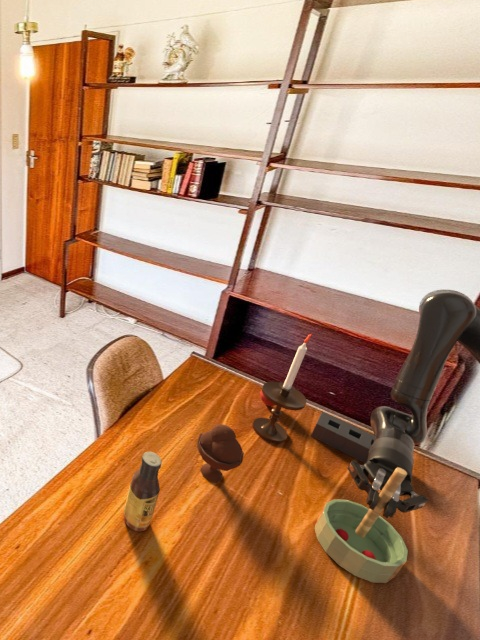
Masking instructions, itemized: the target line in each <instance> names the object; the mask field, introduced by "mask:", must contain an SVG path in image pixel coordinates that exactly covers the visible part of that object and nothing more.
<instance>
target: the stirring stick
mask: <svg viewBox="0 0 480 640" xmlns="http://www.w3.org/2000/svg"><path fill="white" fill-rule="evenodd" d="M406 475H407V472H406V471H405V470H404V469H402V468H396V469H395V471H394V472H393V474H392V475H391V477H390V478H389V480H388V481H387V483H386V485H385V486H384V488H383V489H382V491H381V490H380V492H379V493H380V494H379V498H378V503H377V505H376V507H375V508H374V510H372V509H370V508H369V511H368V512H367V514H366V515H365V517H364V518H363V520H362V521H361V523H360V524H359V526H358V527H357V529H356V531H355V532H356V534H357V535H358V536H360V537H363V538H364V537H365V536H366V534H367V533H368V531H369V530H370V528H371V527H372V526H373V524H374V523H375V521H376V520H377V518H378V517H379V515H380V516H381V514H382V513H383V512H384V508H385V506H386V505H387V503H388V502H389V500H390V499H391V497H392V496H393V495H394V493H395V492H396V490H397V489H398V487H399V486H400V484H401V483H402V481H403V480H404V478H405V477H406Z"/></svg>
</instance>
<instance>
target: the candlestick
mask: <svg viewBox="0 0 480 640" xmlns="http://www.w3.org/2000/svg"><path fill="white" fill-rule="evenodd" d="M312 335H313V333H310V334H308V335H307V337H306V338H305V339H304V340H303V341H304V342H303V344H301V345H298V348H297V350H296V353H295V356H294V358H293V360H292V363H291V365H290V368H289V371H288V372H287V375H286V378H285V380H284V381H273V380H271V381H266V382H265V383H263V385H262V386H261V387H262V388H261V390H262V393H263V395H264V396H265V397H266V398H267V399H268V400H269V401H270V402H272V403H273V404H275V407H272V408H271V414H270V415H269V417H268V418H266V417H257V418H255V419H254V420H253V421H252V424H251V427H252V430H253V431H254V432H255V434H256V435H258V437H260V438H262V439H264V440H265V441H267V442H270V443H275V444H282V443H284V442H286V440H287V438H288V432H287V430H286V429H285V427H283V426H282V425H281V424H280V423H279V421H280V417H281V416H283V412H282V409H285V410H288V411H301V410H303V409H304V408H305V407H306V406H307V398H306V396H305V395H304V394H303V393H302V392H301V390H298V389H297V388H295V386H294V385H293V384H294V382H295V379H296V377H297V374H298V373H299V369H300V367H301V365H302V362H303V360H304V358H305V355H306V353H307V351H308V348H307V343H308V342H309V341H310V339H311V336H312Z"/></svg>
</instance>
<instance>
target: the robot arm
mask: <svg viewBox="0 0 480 640" xmlns="http://www.w3.org/2000/svg"><path fill="white" fill-rule="evenodd" d="M418 314H419V320H418V327H417V332H416V336H415V338H414V341H413V345H412V347H411V348H410V351H409V353H408V355H407V356H406V358H405V360H404V362H402V364H401V367H400V369H399V371H398V373H397V375H396V378H395V381H394V383H393V385H392V388H391V390H390V398H391V399H392V400H393V401H394V402H396V403H397V404H399V405H401V406H403V407H404V408H406V409H408V410H409V411H410V412H411V414H409V413H406V412H403V411H400V410H398V409H396V408H392V407H390V406H386V405H381V406H377V407H375V408H374V409H373V410H372V412H371V414H370V421H369V422H370V427H371V430H372V432H373V435H375V439H374V443H373V444H372V446H371V448H370V450H369V453H368V454H369V455H368V459H367V463H364V464H360V463H359V461H358V460H354V459H352V460H351V462H350V463H349V465H348V467H347V470H348V472H349V474H350V475H351V477H352V480H353V481H354V483H355V485H356V486H357V488H358V489H359V490H360V491H364V492H365V493H366V494H367V495H366V500H365V503H366V505H367V506H368V508H369V509H372V510H374V508H375V507H376V505H377V503H378V498H379V494H380V492H381V491H382V489H383V488H384V486H385V485H386V483H387V481H388V480H389V478H390V477H391V475H392V474H393V472H394V471H395V469H396V468H402V469H404V470H405V471H406V472H407V475H406V477H405V478H404V480H403V481H402V483H401V484H400V486H399V487H398V489H397V490H396V492H395V493H394V495H393V496H392V497H391V499H390V500H389V502H388V503H387V505H386V506H385V508H384V509H383V511H382V517H384V518H385V519H388V518H393V517H394V516H395V515H396V513H397V510H398V511H399V512H400V513H402V514H405V513H406V514H407V513H408V512H413V511H417V510H420V509H423V507H424V506H425V505H426V503H428V497H427V496H425V495H423V494H418V493H416V492H415V491H414V487H413V485H412V477H413V471H414V464H415V463H414V462H415V461H414V460H415V459H414V452H415V446H416V445H419V444H422V443H423V442H424V441H425V440H426V438H427V433H428V431H427V430H428V427H427V425H428V424H427V417H428V416H427V415H428V408H429V405H430V402H431V401H432V400H431V399H432V397H433V395H434V393H435V391H436V388H437V386H438V383H439V381H440V378H441V375H442V372H443V370H444V367H445V366H446V365H445V364H446V363H447V360H448V358H449V356H450V354H451V353H452V350H453V349H454V347H455V345H456V344H457V342H458V343H459V344H460V345H462V347H464V348H465V349H466V350H467V351H468V352H469V354H471V355H472V356H473V357H474V359H475V360H476V361H477V362H478V364H480V308H479V307H478V306H477V305H476V304H475V303H474V302H473V300H472V299H471V297H469V296H468V295H466V294H464V293H463V292H460V291H457V290H455V289H436V290H433V291H430V292H428V293H426V294H425V295H424V296H423V297H422V298H421V300H420V302H419V305H418ZM379 491H380V492H379ZM406 496H409V497H408V498H405V499H400V497H406Z"/></svg>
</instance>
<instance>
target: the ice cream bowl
mask: <svg viewBox="0 0 480 640" xmlns="http://www.w3.org/2000/svg"><path fill="white" fill-rule="evenodd" d="M236 438H237V436H236V433H235V431H234V429H232V428H231V427H230V426H229V425H226V424H216V425H214V426H213V427H212V428H211V429H210V430H207V431H205V432H202V433H199V436H198V438H197V441H196V448H197V451H198V453H199V455H200V457H201V459H202V460H203V461H204V462H205V464H204V463H203V464H201V466H200V470H199V471H200V473H201V475H202V477H204V478H205V479H206V480H208V481H209V482H213V483H219V482H221V481H222V480H223V473H222V471H224V472H228V471H232V470H234V469H236V468H238V467H240V466H241V465H242V463H243V462H244V455H245V453H244V451H243V448H242V446H241V444H240V443H239V440H237V439H236Z"/></svg>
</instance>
